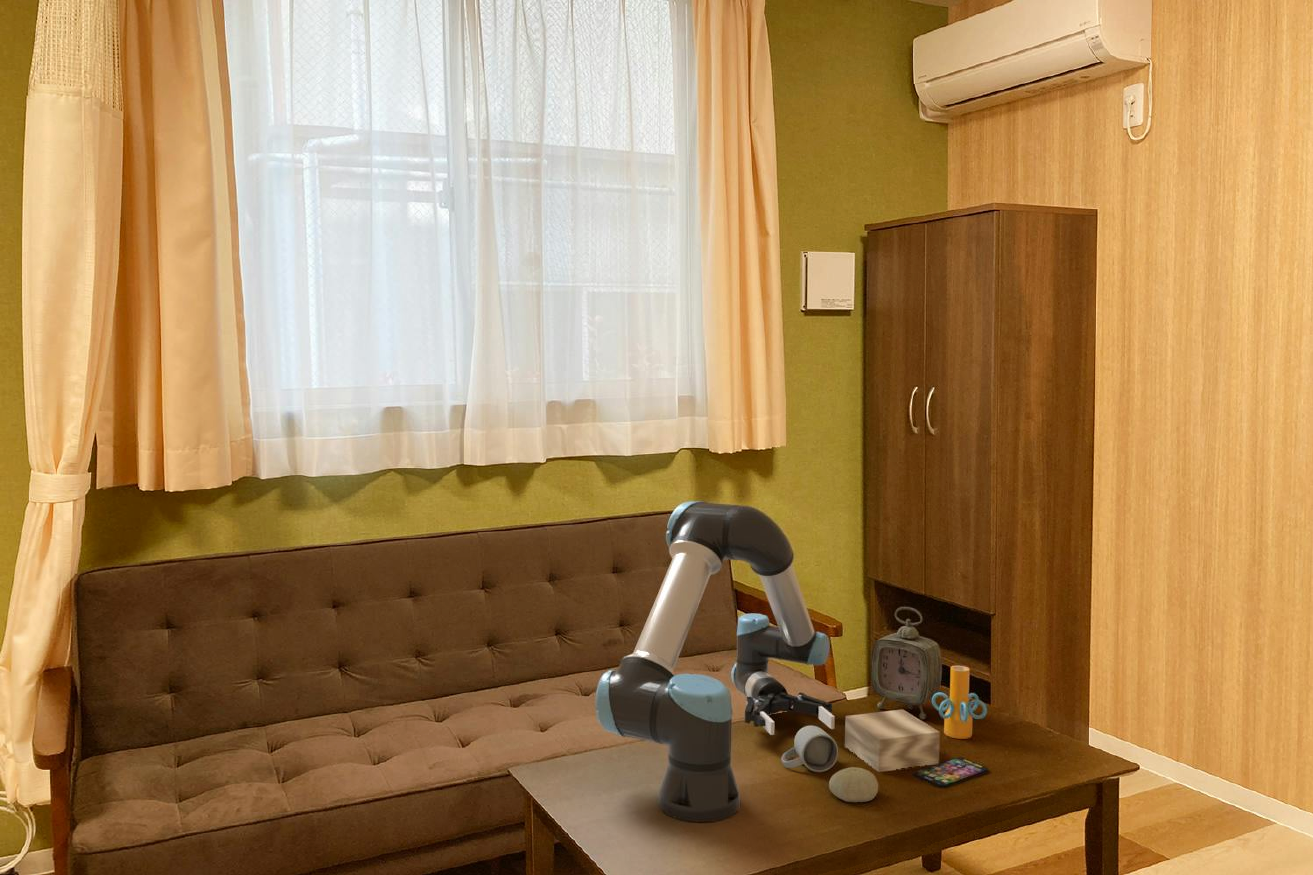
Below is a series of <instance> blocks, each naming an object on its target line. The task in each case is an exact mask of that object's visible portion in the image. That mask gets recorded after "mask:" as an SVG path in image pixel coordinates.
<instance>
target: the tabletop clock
mask: <svg viewBox="0 0 1313 875" xmlns="http://www.w3.org/2000/svg"><path fill="white" fill-rule="evenodd" d="M902 610H905V611H910V612H914V613H916V614H917V615H918V616H919V619H920V621H918V622H912V620H911V619H910V618H907V619H906V620H905V621H904V620H902V619H900V618H899V617H898V615H897V614H898V612H899V611H902ZM894 617H895V619H896V620H897V622H899V623H901V624H903V625H904V626H901V627H900V628H898V630H897V631H896V632H895V633H891V634H887V635H886V636H883V637H881V638H879V639H876V640H875V642H874V644H873V646H872V651H871V660H870V676H871V677H870V678H871V685H872V689H873V691H874V693H875V694H877V695H878V696H879V697H881V698H883V699H882V701H879V702H877V706H876V707H877V708H878V709H879V710H882V709H884V708H885V704H884V703H885V702H887V700H890V701H893V702H896V703H899V704H900V703H901V704H906V707H907V709H908V710H913V709H914V708H915V706H917V705H918V708H919V711H920V712H919V714H918V717H919V720H921V721H923V720H925V719H927V714H926V713H925V712H924V709H923V708H924V707H923V704H924V703H926V702H928V701H930V700H932V697H933V696H934V694H936V693H940V692H939V691H940V689H941V688H940V687H941V683H942V682H941V681H942V674H943V667H942V666H943V664H942V663H943V661H942V652H941V649H940V646H939V643H937V641H934V640H933V639H932V638H931V639H930V638H927V637H924V636H920V634H919V631H918V630H917V629H916V626H919V625H920V624H922V622H923V619H924V618H923V616H922V612H920V611H919V610H917V609H916V608H913V607H910V606H900V607H898V608H897V609H896V610H895V612H894ZM914 705H915V706H914Z"/></svg>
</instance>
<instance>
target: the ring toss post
mask: <svg viewBox="0 0 1313 875" xmlns="http://www.w3.org/2000/svg"><path fill="white" fill-rule="evenodd" d="M970 669H971V668H969V667H967V666H965V665H952V666H950V678H949V681H950V682H949V696H948V695H947V694H946V693H945V692H938V693H936V694H934V696H933V697H932V699H931V703H932V706H933V708H935V709H936V711H938V713H939V716H940V717H941V718H942V719H943V720H944V721H943V722H944V723H943V733H944V735H945V736H947V737H948V738H949V737H950V738H953V739H956V740H957V739H958V740H960V739H961V740H963V739H964V740H966V739H970V738H971V737H972V736H973V721H974V720H973V719H976V720H981V719H983V718H985V717H986V715H987V713H988V710H987V709H988V708H987V705H986V704H985V703H984V702H983V701H982V700H981V699H979V698H980V697H979V696H978V695H977V693H975V692H970ZM938 697H943V698H944V700H943V701H941V703H940V704H939V705H938V704H937V703H936V700H937V699H938ZM971 698H974V699H972V700H971ZM945 705H946V706H945ZM979 705H980V706H981V707H982V713H981V714H975V713H974V711H976V710H977V709H978V706H979ZM972 706H973V707H972ZM944 712H945V713H944Z"/></svg>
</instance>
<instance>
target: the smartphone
mask: <svg viewBox="0 0 1313 875" xmlns="http://www.w3.org/2000/svg"><path fill="white" fill-rule="evenodd" d="M987 773H989V768H988V767H987V766H985V765H982V764H980V763H978V762H975V761H973V760H970V759H967V758H965V757H962V756H961V757H960V756H959V757H955V758H952V759H948V760H945V761H943V762H939V764H934V765H929V766H927V767H925V768H921V769H919V770H916V771H913V773H912V774H913V775H914V776H915V777H914V776H913V777H914V778H916V779H918V780H920V781H923V780H924V781H923V782H925V781H926V783H927V782H928V784H929V783H930V784H929V785H932V786H934V787H937V788H938V789H945V788H948V787H950V786H953V785H957V784H959V783H963V782H965V781H968V780H971V779H974V778H976V777H979V776H981V775H985V774H987Z"/></svg>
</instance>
